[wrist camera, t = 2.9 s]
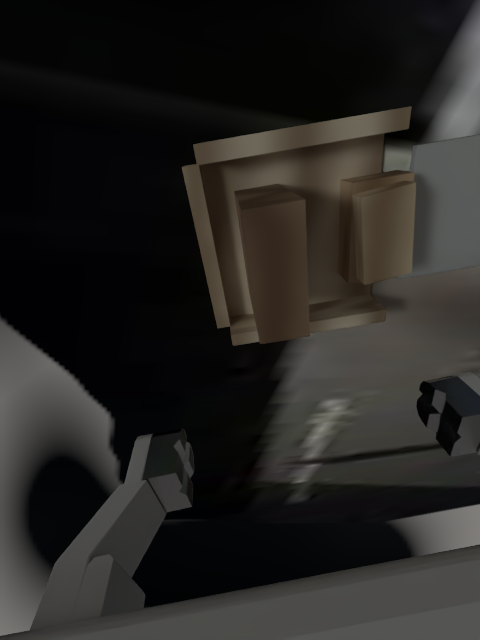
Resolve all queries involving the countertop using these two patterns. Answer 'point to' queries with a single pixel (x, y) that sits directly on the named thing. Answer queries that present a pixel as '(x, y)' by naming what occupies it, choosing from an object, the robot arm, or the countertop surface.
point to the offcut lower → (347, 219)
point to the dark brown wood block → (275, 260)
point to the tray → (321, 212)
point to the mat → (446, 205)
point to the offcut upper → (384, 231)
